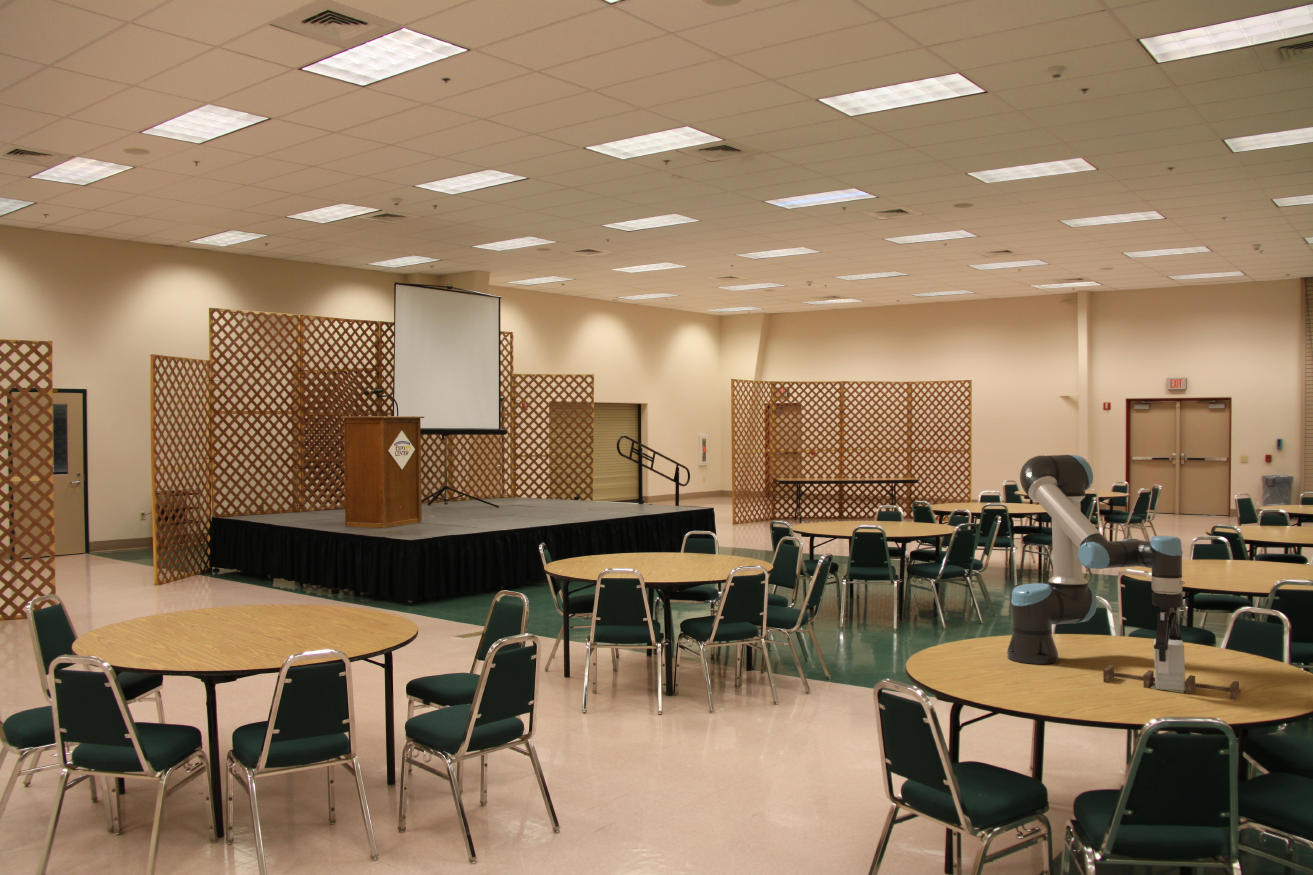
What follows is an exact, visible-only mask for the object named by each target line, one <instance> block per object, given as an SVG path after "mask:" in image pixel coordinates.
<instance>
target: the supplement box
mask: <svg viewBox="0 0 1313 875" xmlns="http://www.w3.org/2000/svg"><path fill="white" fill-rule="evenodd" d="M1153 640H1154V641H1153V646H1154V645H1155V644H1156V638H1154V639H1153ZM1168 650H1169V674H1165V673H1158V669H1157V649H1154V648H1153V651H1154V656H1153V657H1154V677H1155V682H1154V684H1155V683H1156V689H1155V690H1160V689H1168V690H1180V691H1185V692H1186V690H1185V680H1186V669H1185V667H1186V666H1185V665H1186V664H1185V645H1184V641H1183V639H1182V640H1170V639H1169V642H1168Z"/></svg>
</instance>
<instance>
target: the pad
mask: <svg viewBox="0 0 1313 875" xmlns="http://www.w3.org/2000/svg"><path fill="white" fill-rule="evenodd" d="M1150 689H1154V690H1157V689H1156V683H1155V682H1154V683H1153V684H1152V685H1151V686H1150ZM1159 690H1161V691H1170V692H1175V693H1176V692H1177V693H1182V694H1183V693H1186V686H1185V691H1180V690H1168V689H1159Z"/></svg>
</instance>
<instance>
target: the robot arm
mask: <svg viewBox="0 0 1313 875" xmlns="http://www.w3.org/2000/svg"><path fill="white" fill-rule="evenodd" d="M1093 481H1094V473H1093V469H1092V467H1091V465H1090V463H1089V462H1088V461H1087V460H1086V459H1085V458H1084V457H1082V456H1080V455H1076V454H1075V455H1074V454H1059V455H1056V454H1054V455H1036V456H1033V457H1031V458H1029V459H1028V460H1027V461H1025V463H1024V464H1023V465H1022V467H1021V469H1020V472H1019V482H1020V485H1021V487H1022V490H1023V491H1024V493H1025V494H1026V495H1027V496H1028V497H1029V499H1030V500H1031V501H1033V502H1038V504H1039V505H1040V506H1041V507H1042V508H1043V510H1044V511H1045V512H1046V513H1047V514H1048V515H1049V517H1051V531H1052V532H1051V533H1052V537H1051V538H1052V539H1051V540H1052V569H1053V570H1052V571H1053V574H1052V575H1053V576H1051V577H1050V578H1049V579H1048V583H1041V582H1036V583H1026V584H1021V585H1018V586H1016V587H1014V588H1013V590H1012V594H1011V601H1010V603H1011V613H1012V614H1011V618H1012V634H1011V636H1010V641H1009V644H1008V647H1007V652H1006V654H1007V656H1006V657H1007V659H1009V660H1011V661H1013V662H1017V663H1018V662H1019V663H1022V664H1034V665H1045V664H1054V663H1055V664H1056V663H1057V662H1059V652H1058V649H1057V646H1056V643H1055V640H1054V638H1053V629H1052V628H1053V627H1052V626H1053V625H1063V624H1073V625H1075V624H1079V623H1083V622H1088V621H1089V620H1091V618H1092V617H1093V616H1094V615H1095V613H1096V610H1097V605H1098V599H1097V595H1096V594H1095V591H1094V590H1093V588H1091V587H1090V586H1089V582H1088V580H1087V579H1086V578H1084V576H1083V567H1084V568H1086V569H1093V570H1094V569H1095V570H1104V569H1113V568H1133V567H1134V568H1135V567H1141V568H1149V569H1151V590H1152V591H1153V592H1151V602H1152V603H1151V604H1152V605H1153V606H1154V607H1159V608H1160V611H1158V612H1157V614H1156V616H1157V617H1156V618H1157V623H1156V634H1155V639H1156V644H1155V645H1154V644H1153V650H1154V649H1157V669H1158V673H1165V674H1169V650H1168V642H1169V640H1182V641H1183V636H1181V632H1180V624H1179V616H1178V608H1182V607H1183V606H1184V605H1183V604H1184V602H1183V600H1184V598H1183V593H1182V592H1183V585H1185V580H1184V581H1183V549H1182V540H1181V539H1180V538H1179V537H1178V536H1173V535H1170V536H1169V535H1155V536H1154V535H1153V536H1152V537H1151V538H1150V541H1148V540H1141V539H1138V538H1125V539H1122V540H1114V541H1109V540H1108V539H1107V538H1106V537H1105V536H1104V535H1103V534H1102V532H1100V531H1099V530H1098V529H1097V528H1096V527H1095V526H1094V524H1093V523H1092V522H1091V521H1090V520H1089V519H1088V517H1086V515H1084V513H1083V512H1082V511H1081V502H1082V501H1083V499H1085V497H1086V491H1087V490H1089V489H1090V488H1091V486H1092V484H1093Z"/></svg>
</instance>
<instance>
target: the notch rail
mask: <svg viewBox="0 0 1313 875" xmlns="http://www.w3.org/2000/svg"><path fill="white" fill-rule="evenodd" d="M1102 670H1103V674H1102V678H1103V680H1102V681H1103V683H1110V682H1111V681H1112V680H1114V678H1115V677H1117V678H1122V679H1123V678H1124V679H1131V680H1138V681H1139V680H1140V681H1143V682H1142V683H1143V689H1144V688H1145V689H1149V688H1151V687H1152V686H1153V685H1154V684H1155V670H1153V669H1148V670H1147V671H1146V672H1145V673H1144V674H1143V675H1138V674H1131V673H1121V672H1115V666H1114V665H1113V664H1112V665H1111V664H1109V665H1107V667H1105V668H1104V669H1102ZM1185 686H1186V690H1185V694H1187V695H1192V693H1193V692H1194V691H1195V690H1196V688H1200V689H1206V690H1212V691H1213V690H1215V691H1222V692H1227V693H1229V700H1232V701H1236V700H1237V699H1238V697H1239V696H1240V693H1241V690H1242V689H1241V688H1240V681H1238V680H1233V681H1232V683H1231V684H1230V685H1229V686H1222V685H1216V684H1209V683H1208V684H1207V683H1199V682H1196V675H1191V674H1190V675H1189V676H1188V677H1187V678H1185Z"/></svg>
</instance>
